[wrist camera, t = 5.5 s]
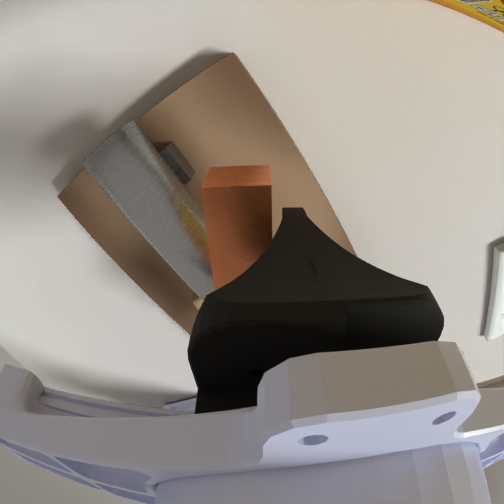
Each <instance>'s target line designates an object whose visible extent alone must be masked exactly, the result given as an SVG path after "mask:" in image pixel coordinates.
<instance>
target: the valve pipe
mask: <svg viewBox="0 0 504 504" xmlns="http://www.w3.org/2000/svg"><path fill="white" fill-rule="evenodd" d="M82 164H83V165H84V167H85V168H86V169H87V170H88V172H89V173H90V174H91V175H92V177H93V178H94V179H95V180H96V182H97V183H98V184H99V185H100V186H101V188H102V189H103V190H104V191H105V192H106V194H107V195H108V196H109V197H110V198H111V200H112V201H113V202H114V203H115V204H116V206H117V207H118V208H119V209H120V210H121V211H122V213H123V214H124V215H125V216H126V217H127V218H128V220H129V221H130V222H131V223H132V224H133V225H134V226H135V228H136V229H137V230H138V231H139V232H140V233H141V234H142V235H143V237H144V238H145V239H146V240H147V241H148V242H149V243H150V244H151V246H152V247H153V248H154V249H155V250H156V251H157V252H158V253H159V254H160V256H161V257H162V258H163V259H164V260H165V261H166V262H167V263H168V264H169V265H170V266H171V267H172V269H173V270H174V271H175V272H176V273H177V274H178V275H179V276H180V277H181V278H182V279H183V280H184V281H185V282H186V283H187V285H188V286H189V287H190V288H191V289H192V290H193V291H194V292H193V296H192V301H193V304H194V305H195V307H196V308H197V309H198V312H199V309H200V307H201V305H202V303H203V301H204V299H205V297H206V295H207V294H209V293H211V292H213V291H215V286H214V280H213V273H212V266H211V259H210V252H209V245H208V238H207V231H206V223H205V216H204V210H203V208H202V207H201V206H200V205H199V203H198V202H197V201H196V200H195V198H194V197H193V196H192V194H191V193H190V192H189V191H188V189H187V188H186V187H185V186H184V185H185V184H186V183H188V182H189V181H191V180H192V178H193V176H194V174H195V172H196V171H195V170H194V169H193V167H192V166H191V165H190V163H189V162H188V161H187V159H186V158H185V157H184V155H183V154H182V153H181V152H180V150H179V149H178V148H177V146H176V145H175V144H174V142H173V141H172V142H171V143H169V144H168V145H167V146H165V147H164V148H163V149H161V150H160V151H159V152H158V151H157V150H156V148H155V147H154V146H153V145H152V143H151V142H150V141H149V139H148V138H147V137H146V135H145V134H144V133H143V132H142V130H141V129H140V128H139V126H138V125H137V124H136V123H135V121H134V120H132V121H130V122H128V123H127V124H125V125H124V126H122V127H121V128H120V129H118V130H117V131H116V132H114V133H113V134H112V135H111V136H109V137H108V138H107V139H106V140H105V141H103V142H102V143H101V144H100V145H99V146H98V147H97V148H96V149H95V150H94V151H92V152H91V153H90V154H89V155H88V157H87V158H86V159H85V160H84V161H83V162H82ZM198 312H197V314H198Z"/></svg>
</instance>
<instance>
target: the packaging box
mask: <svg viewBox="0 0 504 504" xmlns="http://www.w3.org/2000/svg"><path fill="white" fill-rule="evenodd" d="M429 1H432V2H435V3H438V4H440V5H443V6H446V7H448V8H451V9H454V10H456V11H459V12H461V13H463V14H466V15H468V16H470V17H473V18H475V19H477V20H479V21H481V22H484V23H486V24H488V25H490V26H492V27H494V28H496V29H498V30H500V31H502V32H504V0H429Z"/></svg>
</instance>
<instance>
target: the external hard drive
mask: <svg viewBox="0 0 504 504" xmlns="http://www.w3.org/2000/svg"><path fill="white" fill-rule="evenodd" d="M502 334H504V242H501V243H499V244H497V245H495V246H494V252H493V268H492V280H491V289H490V298H489V305H488V312H487V319H486V325H485V330H484V337H485V339H486V341H491V340H493V339H495V338H497V337H498V336H500V335H502Z"/></svg>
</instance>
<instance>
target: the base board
mask: <svg viewBox="0 0 504 504" xmlns="http://www.w3.org/2000/svg"><path fill="white" fill-rule="evenodd" d="M135 123H136V124H137V125H138V126H139V128H140V129H141V130H142V132H143V133H144V134H145V135H146V137H147V138H148V139H149V141H150V142H151V143H152V145H153V146H154V147H155V148H156V150H157V151H158V152H159V151H160V150H161V149H163V148H164V147H165V146H167V145H168V144H169V143H171V142H172V141H173V142H174V144H175V145H176V146H177V148H178V149H179V150H180V152H181V153H182V154H183V155H184V157H185V158H186V159H187V161H188V162H189V163H190V165H191V166H192V167H193V169H194V170H195V171H196V172H195V174H194V176H193V178H192V180H191V181H189V182H188V183H186V184H185V185H184V186H185V187H186V188H187V189H188V191H189V192H190V193H191V194H192V196H193V197H194V198H195V200H196V201H197V202H198V203H199V205H200V206H201V207H202V208H203V200H202V192H201V187H202V184H203V182H204V180H205V177H206V175H207V173H208V171H209V168H210V167H224V166H248V165H270V173H271V184H272V239H273V237H274V235H275V234H276V232H277V229H278V227H279V225H280V223H281V220H282V207H303V209H304V210H305V212H306V215H307V216H308V217H309V218H310V220H311V221H312V222H313V223H314V224H315V225H316V226H317V227H318V228H319V229H321V230H322V231H323V232H324V233H325V234H326V235H327V236H329V237H330V238H331V239H332V240H333V241H335V242H336V243H337V244H338V245H340V246H341V247H343V248H344V249H346V250H347V251H349V252H350V253H352V254H353V255H355V256H356V257H357V255H356V253H355V251H354V249H353V247H352V245H351V243H350V241H349V239H348V237H347V235H346V233H345V232H344V230H343V228H342V226H341V224H340V222H339V220H338V218H337V216H336V215H335V213H334V211H333V209H332V207H331V205H330V203H329V202H328V200H327V198H326V196H325V194H324V193H323V191H322V189H321V187H320V185H319V184H318V182H317V180H316V178H315V177H314V175H313V173H312V171H311V170H310V168H309V166H308V165H307V163H306V161H305V160H304V158H303V156H302V154H301V153H300V151H299V149H298V148H297V146H296V145H295V143H294V141H293V140H292V138H291V136H290V135H289V133H288V132H287V130H286V128H285V127H284V125H283V124H282V122H281V120H280V119H279V117H278V116H277V114H276V113H275V111H274V110H273V108H272V106H271V105H270V103H269V102H268V100H267V99H266V97H265V96H264V94H263V93H262V91H261V90H260V88H259V87H258V85H257V84H256V83H255V81H254V80H253V78H252V77H251V75H250V74H249V72H248V71H247V70H246V68H245V67H244V65H243V64H242V62H241V61H240V60H239V58H238V57H237V55H236V54H235V53H233V52H232V53H231V54H229V55H228V56H226V57H224V58H223V59H221V60H220V61H218V62H216V63H215V64H213V65H212V66H210V67H209V68H207V69H206V70H204V71H203V72H201V73H200V74H198V75H197V76H195V77H194V78H192V79H191V80H190V81H188V82H187V83H185V84H184V85H183V86H181V87H180V88H178V89H177V90H176V91H174V92H173V93H172V94H170V95H169V96H168V97H166V98H165V99H164V100H162V101H161V102H160V103H158V104H157V105H156V106H155V107H153V108H152V109H151V110H150V111H148V112H147V113H146V114H145V115H143V116H142V117H141V118H140V119H138V120H137V121H136V122H135ZM57 197H58V198H59V199H60V200H61V201H62V203H63V204H64V205H65V206H66V207H67V209H68V210H69V211H70V212H71V213H72V214H73V216H74V217H75V218H76V219H77V220H78V221H79V223H80V224H81V225H82V226H83V227H84V228H85V229H86V231H87V232H88V233H89V234H90V235H91V236H92V237H93V238H94V239H95V241H96V242H97V243H98V244H99V245H100V246H101V247H102V248H103V249H104V250H105V251H106V253H107V254H108V255H109V256H110V257H111V258H112V259H113V260H114V261H115V262H116V263H117V264H118V265H119V266H120V267H121V268H122V269H123V270H124V271H125V272H126V274H127V275H128V276H129V277H130V278H131V279H132V280H133V281H134V282H135V283H136V284H137V285H138V286H139V287H140V288H141V289H142V290H143V291H144V292H145V293H146V294H147V295H148V296H149V297H151V298H152V299H153V300H154V301H155V302H156V303H157V304H158V305H159V306H160V307H161V308H162V309H163V310H164V311H165V312H166V313H167V314H168V315H169V316H170V317H172V318H173V319H174V320H175V321H176V322H177V323H178V324H179V325H180V326H181V327H182V328H183V329H185V330H186V331H187V332H188V333H189V334H190V335H191V331H192V328H193V324H194V322H195V319H196V316H197V312H198V309H197V308H196V307H195V305H194V304H193V301H192V296H193V292H194V291H193V290H192V289H191V288H190V287H189V286H188V285H187V283H186V282H185V281H184V280H183V279H182V278H181V277H180V276H179V275H178V274H177V273H176V272H175V271H174V270H173V269H172V267H171V266H170V265H169V264H168V263H167V262H166V261H165V260H164V259H163V258H162V257H161V256H160V254H159V253H158V252H157V251H156V250H155V249H154V248H153V247H152V246H151V244H150V243H149V242H148V241H147V240H146V239H145V238H144V237H143V235H142V234H141V233H140V232H139V231H138V230H137V229H136V228H135V226H134V225H133V224H132V223H131V222H130V221H129V220H128V218H127V217H126V216H125V215H124V214H123V213H122V211H121V210H120V209H119V208H118V207H117V206H116V204H115V203H114V202H113V201H112V200H111V198H110V197H109V196H108V195H107V194H106V192H105V191H104V190H103V189H102V188H101V186H100V185H99V184H98V183H97V182H96V180H95V179H94V178H93V177H92V175H91V174H90V173H89V172H88V170H87V169H86V168H84V169H83V170H82V171H81V172H80V173H79V174H78V175H77V176H76V177H75V178H74V179H73V180H72V181H71V183H70V184H69V185H68V186H67V187H66V188H65V189H64V190H63V191H62V192H61V193H60V194H59V195H58V196H57ZM203 210H204V208H203Z"/></svg>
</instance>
